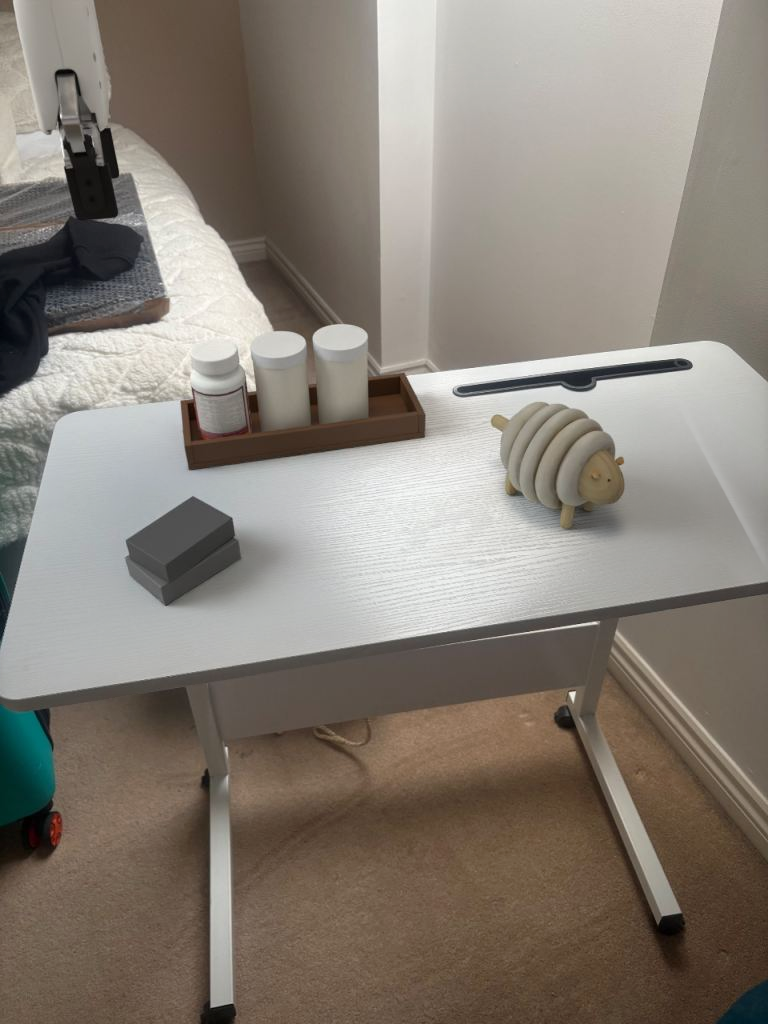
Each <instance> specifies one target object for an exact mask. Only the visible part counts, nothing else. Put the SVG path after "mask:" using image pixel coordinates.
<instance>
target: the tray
mask: <svg viewBox="0 0 768 1024" xmlns="http://www.w3.org/2000/svg"><path fill="white" fill-rule="evenodd" d="M308 387H309V400H310V414H311V426H304V427H296V428H289V429H281V430H274V431H266V432H261V427H260V418H259V410H258V402H257V393H256V390H254V391H248V398H249V407H250V415H251V422H252V433H251V434H244V435H236V436H229V437H222V438H214V439H207V440H202V439H201V437H200V434H199V428H198V423H197V417H196V411H195V406H194V400H193V398H189V399H182V400H180V402H179V403H180V412H181V423H182V424H181V425H182V434H183V446H184V452H185V457H186V463H187V469H188V470H189V471H191V470H192V471H193V470H197V469H198V470H199V469H200V470H201V469H204V468H213V467H220V466H221V467H222V466H228V465H236V464H240V463H241V464H242V463H251V462H255V461H265V460H271V459H277V458H284V457H285V458H287V457H291V456H301V455H307V454H314V453H321V452H327V451H334V450H341V449H350V448H357V447H364V446H370V445H377V444H378V445H379V444H385V443H393V442H399V441H407V440H414V439H415V440H416V439H422V438H425V436H426V412H425V410H424V408H423V406H422V404H421V402H420V401H419V398H418V396H417V394H416V392H415V390H414V388H413V387H412V384H411V383H410V381H409V378H408V377H407V375H406V373H405V372H397V373H390V374H381V375H375V376H368V412H369V418H364V419H356V420H349V421H341V422H334V423H326V424H320V423H319V415H318V399H317V384H316V383H311V384H309V383H308Z"/></svg>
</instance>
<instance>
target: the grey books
mask: <svg viewBox="0 0 768 1024" xmlns="http://www.w3.org/2000/svg"><path fill="white" fill-rule="evenodd" d="M235 531H236V530H235V525H234V519H233V517H232V516H230V515H228V514H227V513H225V512H224V511H221V510H219V509H217V508H216V507H214V506H212V505H211V504H209V503H207V502H206V501H204V500H202V499H200V498H197V497H196V496H194V495H192V496H191V497H189V498H187V499H186V500H184V501H183V502H181V503H180V504H178V505H176V506H175V507H173V508H172V509H171V510H169V511H168V512H166V513H165V514H163V515H161V516H160V517H159V518H157V519H155V520H154V521H152V522H151V523H149V524H148V525H146V526H145V527H143V528H141V529H140V530H139V531H137V532H136V533H134V534H132V536H130V537H127V539H125V544H126V547H127V550H128V551H127V552H128V555H126V556H125V557H124V560H125V564H126V568H127V570H128V574H129V576H130V577H131V578H132V579H133V580H134V581H136V582H137V583H138V584H139V585H140V586H141V587H143V588H144V589H145V590H146V591H148V592H149V593H150V594H151V595H152V596H153V597H154V598H156V599H157V600H158V601H159V602H160V603H162V604H163V605H164V606H167V605H169V604H170V603H172V602H174V601H175V600H177V599H178V598H180V597H182V596H183V595H185V594H186V593H188V592H190V591H191V590H192V589H194V588H196V587H197V586H199V585H201V584H202V583H204V582H205V581H207V580H209V579H210V578H212V577H213V576H215V575H217V574H218V573H220V572H221V571H223V570H224V569H226V568H228V567H229V566H231V565H232V564H234V563H236V562H237V561H239V560H240V559H241V557H242V555H241V549H240V543H239V539H237V538H236V532H235Z"/></svg>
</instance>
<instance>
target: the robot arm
mask: <svg viewBox="0 0 768 1024" xmlns="http://www.w3.org/2000/svg"><path fill="white" fill-rule="evenodd" d="M12 4H13V10H14V16H15V21H16V22H15V23H16V27H17V30H18V37H19V42H20V46H21V51H22V54H23V59H24V64H25V68H26V73H27V77H28V81H29V82H28V83H29V86H30V90H31V95H32V100H33V104H34V109H35V115H36V118H37V123H38V128H39V130H40V131H41V132H42V133H43V134H45V135H46V136H51V135H52V133H53V130H55V131H56V129H57V126H58V131H59V138H60V144H61V150H62V157H63V163H64V166H63V170H64V174H65V178H66V183H67V186H68V190H69V195H70V199H71V203H72V208H73V210H74V215H75V218H76V219H77V220H78V221H81V222H84V221H94V220H106V219H115V218H117V217H118V215H119V207H118V202H117V198H116V193H115V188H114V185H113V180H114V179H118V178H119V177H120V168H119V164H118V157H117V153H116V148H115V144H114V139H113V134H112V129H111V127H108V124H109V113H110V101H109V88H108V79H107V78H108V77H107V71H106V65H105V64H106V63H105V56H104V51H103V44H102V39H101V38H102V37H101V33H100V27H99V22H98V17H97V16H98V15H97V11H96V6H95V5H96V4H95V1H94V0H12Z"/></svg>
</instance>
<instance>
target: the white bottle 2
mask: <svg viewBox="0 0 768 1024" xmlns="http://www.w3.org/2000/svg"><path fill="white" fill-rule="evenodd" d="M312 348H313V354H314V367H315V384H317V399H318V415H319V423H320V424H326V423H334V422H341V421H349V420H356V419H364V418H369V412H368V377H369V372H368V371H369V366H368V365H369V364H368V351H369V334H368V333H367V331H366V330H365V329H363V328H362V327H360V326H357V325H353V324H349V323H348V324H346V323H337V324H329V325H326V326H322V327H320V328H319V329H317V330H316V331H315V332H314V333H313V335H312Z"/></svg>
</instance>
